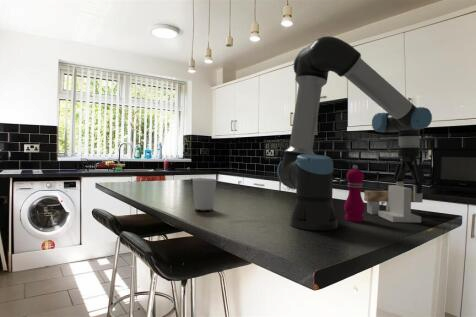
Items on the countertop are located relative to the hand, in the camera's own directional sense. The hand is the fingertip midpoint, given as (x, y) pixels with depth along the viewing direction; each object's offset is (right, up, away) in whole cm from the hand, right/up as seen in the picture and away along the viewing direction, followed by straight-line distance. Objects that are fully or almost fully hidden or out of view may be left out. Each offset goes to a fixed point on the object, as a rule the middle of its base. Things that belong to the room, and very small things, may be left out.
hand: (408, 199), depth 131 cm
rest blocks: (-10, -6, 0) cm, 12 cm away
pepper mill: (-27, -6, -15) cm, 32 cm away
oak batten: (-6, -1, 0) cm, 6 cm away
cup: (-83, -5, 0) cm, 83 cm away
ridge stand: (-9, -6, -11) cm, 16 cm away
